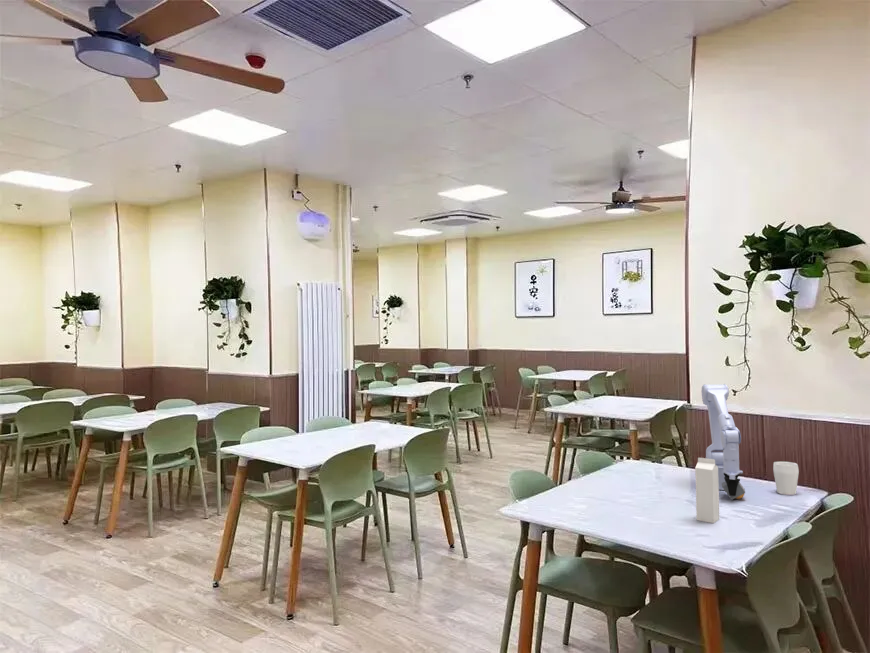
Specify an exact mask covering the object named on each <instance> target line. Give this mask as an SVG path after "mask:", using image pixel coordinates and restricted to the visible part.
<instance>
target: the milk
mask: <svg viewBox="0 0 870 653" xmlns="http://www.w3.org/2000/svg"><path fill="white" fill-rule="evenodd" d="M694 471H695V472H694V473H695V474H694V475H695V477H694V478H695V504H696V505H695V506H696V507H695V508H696V509H695V510H696V511H695V512H696V513H695V514H696V520H697V521H699V522H704V523H709V524H715V523H716V522H718V521H719V520H720V494H719V493H720V490H719V483H718V466H717V465H716V464H715V460H714V459H707V458H706V457H705V458H704V457H697V463H696V466H695V468H694Z"/></svg>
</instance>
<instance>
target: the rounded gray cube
mask: <svg viewBox="0 0 870 653" xmlns="http://www.w3.org/2000/svg"><path fill="white" fill-rule="evenodd" d="M735 479H738V478H736V477H735ZM722 488H723V489H724V490H723V491H725V493H726V494H727V496H728V497H729V499H730V500H731V501H733V500H734V499H736V498H737V497H739V496H740V495H742V494H744V495H745V494H746V490H745V488H744V486H743V485H742V483H741V482H740V481H739V483H738V486H737V491H736V495H735V496H730V495H729V491H728V486H727V483H726V481H725V482H723V483H722Z"/></svg>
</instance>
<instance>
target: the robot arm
mask: <svg viewBox="0 0 870 653" xmlns="http://www.w3.org/2000/svg"><path fill="white" fill-rule="evenodd" d="M729 395H730V390H729V387H728V385H727V384H726V383H724V384H702V386H701V399H702V403H703V405H705V406H706V407H707V411H708V412H707V413H708V420H709V428H710V436H711V444H710V445H709V446H707V447H706V449H705V458H707V459H714V460H715V464H716V465H717V466H718V483H719V491H725V490H724V489H723V488H722V483H723V482H725V481H726V483H727V486H728V491H729V495H730V496H735V495H736V491H737V486H738V483H739V482H740V481H741V479H740V478H739V476H740V474H743V473H744V472H743V470H741V469H740V448H739V446H740V444H741V442H742V441H741V440H742V436H741V431H740V429H738V427H736V424H735V421H734V417H733V416H732V414H729V410H728V404H727V400H728V397H730V396H729ZM735 477H736V478H737V479H735Z"/></svg>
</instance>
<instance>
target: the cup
mask: <svg viewBox="0 0 870 653" xmlns="http://www.w3.org/2000/svg"><path fill="white" fill-rule="evenodd" d="M772 468H773V470H772V471H773V476H774V481H775V487H776V491H777V494H781V495H785V496H794V495H796V494H797V489H798V488H797V487H798V481H799V480H798V479H799V474H800V473H799V472H800V471H799V464H798V463H797V462H792V461H784V460H783V461H774V462H773V467H772Z"/></svg>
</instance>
